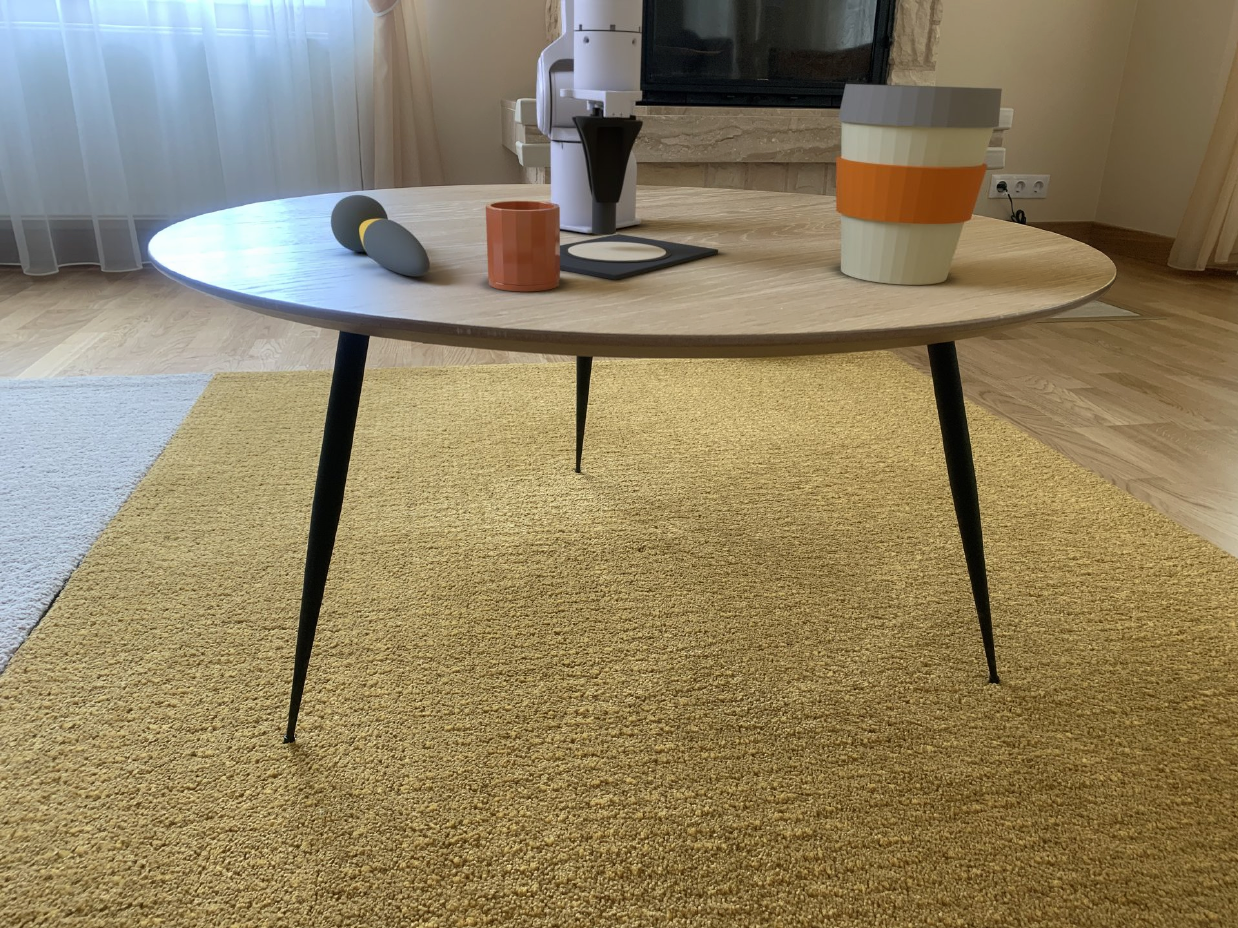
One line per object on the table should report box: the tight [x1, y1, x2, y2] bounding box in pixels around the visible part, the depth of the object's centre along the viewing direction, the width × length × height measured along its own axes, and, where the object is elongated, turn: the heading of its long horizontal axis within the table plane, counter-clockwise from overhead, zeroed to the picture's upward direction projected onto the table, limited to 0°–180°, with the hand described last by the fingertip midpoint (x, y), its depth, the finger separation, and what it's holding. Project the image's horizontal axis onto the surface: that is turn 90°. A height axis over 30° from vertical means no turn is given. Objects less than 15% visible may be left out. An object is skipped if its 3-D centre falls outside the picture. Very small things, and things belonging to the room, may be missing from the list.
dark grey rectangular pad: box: [560, 233, 719, 281], centre depth 80 cm, size 16×12×1 cm
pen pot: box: [485, 200, 561, 293], centre depth 68 cm, size 6×6×6 cm
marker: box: [591, 190, 617, 236], centre depth 78 cm, size 2×2×9 cm
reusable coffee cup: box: [835, 83, 1003, 286], centre depth 73 cm, size 13×13×15 cm
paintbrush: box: [330, 194, 431, 277], centre depth 74 cm, size 20×5×5 cm, turn 38°
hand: (605, 200), depth 79 cm, fingers closed on marker, 2 cm apart
